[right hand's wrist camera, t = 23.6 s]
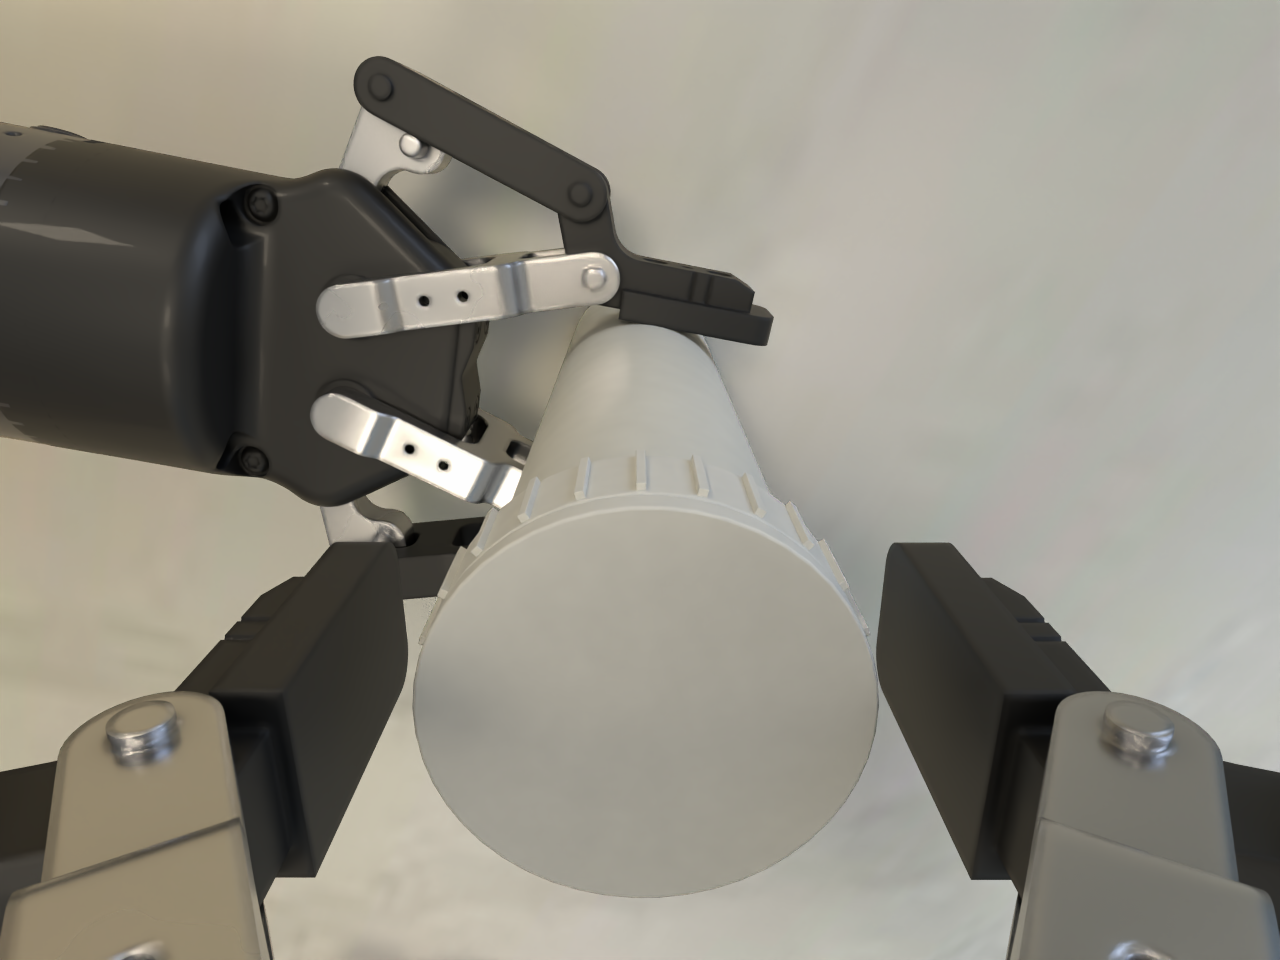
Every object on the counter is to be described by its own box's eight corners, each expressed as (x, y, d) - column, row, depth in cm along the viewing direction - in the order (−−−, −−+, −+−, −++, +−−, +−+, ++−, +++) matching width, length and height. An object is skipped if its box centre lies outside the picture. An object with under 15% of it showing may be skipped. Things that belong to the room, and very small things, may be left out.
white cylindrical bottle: (672, 435, 28) (733, 855, 11) (552, 387, 28) (414, 750, 10) (725, 317, 27) (894, 582, 9) (601, 263, 26) (537, 441, 9)
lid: (559, 857, 12) (548, 959, 10) (357, 558, 10) (307, 628, 8) (906, 719, 11) (951, 808, 9) (749, 372, 9) (771, 411, 8)
